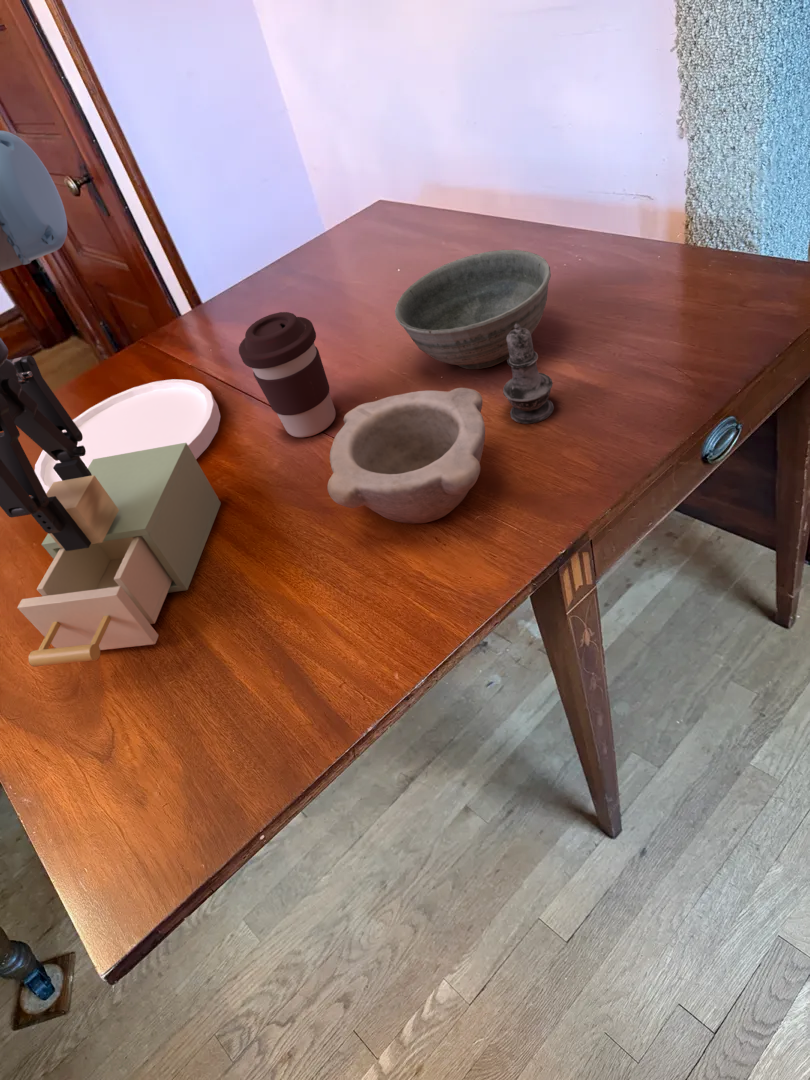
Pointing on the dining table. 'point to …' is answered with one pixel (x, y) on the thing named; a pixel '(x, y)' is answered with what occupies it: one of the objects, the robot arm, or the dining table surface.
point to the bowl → (475, 306)
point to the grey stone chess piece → (526, 380)
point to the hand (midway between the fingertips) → (89, 527)
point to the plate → (142, 423)
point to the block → (86, 506)
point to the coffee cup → (290, 372)
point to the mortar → (409, 454)
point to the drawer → (97, 601)
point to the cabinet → (159, 506)
